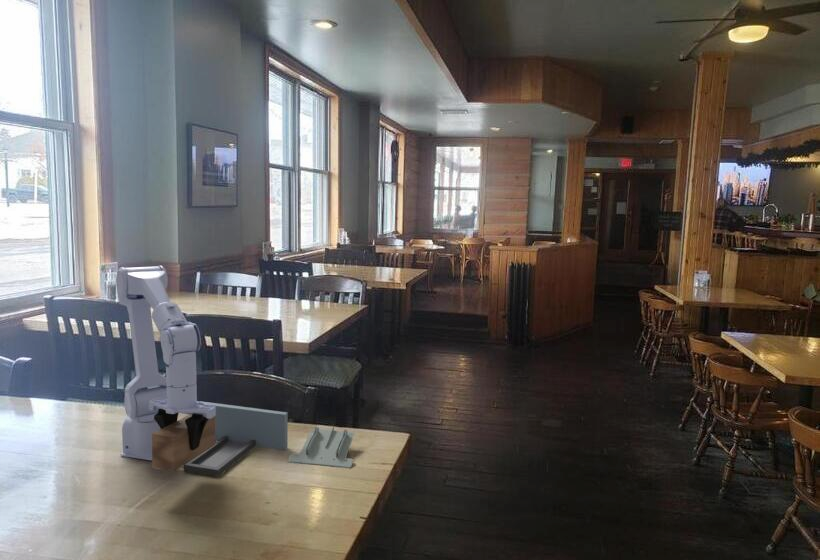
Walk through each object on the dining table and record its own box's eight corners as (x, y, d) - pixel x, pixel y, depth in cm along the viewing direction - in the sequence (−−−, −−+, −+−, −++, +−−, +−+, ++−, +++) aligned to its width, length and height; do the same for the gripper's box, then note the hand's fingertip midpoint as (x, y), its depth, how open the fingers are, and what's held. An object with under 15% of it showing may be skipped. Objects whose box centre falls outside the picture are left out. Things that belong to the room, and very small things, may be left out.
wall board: (153, 466, 129) (152, 427, 128) (201, 435, 146) (200, 401, 145) (249, 481, 123) (249, 441, 122) (287, 447, 141) (287, 412, 139)
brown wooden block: (152, 467, 114) (152, 433, 113) (195, 442, 128) (195, 411, 127) (174, 471, 113) (173, 437, 112) (215, 445, 126) (215, 414, 126)
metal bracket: (304, 420, 144) (362, 425, 142) (306, 438, 146) (363, 443, 144) (285, 459, 131) (349, 465, 129) (287, 479, 134) (350, 485, 132)
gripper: (137, 385, 115) (139, 449, 117) (200, 393, 112) (202, 459, 114) (161, 375, 122) (162, 435, 124) (221, 382, 119) (222, 445, 120)
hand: (182, 446), depth 119 cm, fingers closed on brown wooden block, 5 cm apart
